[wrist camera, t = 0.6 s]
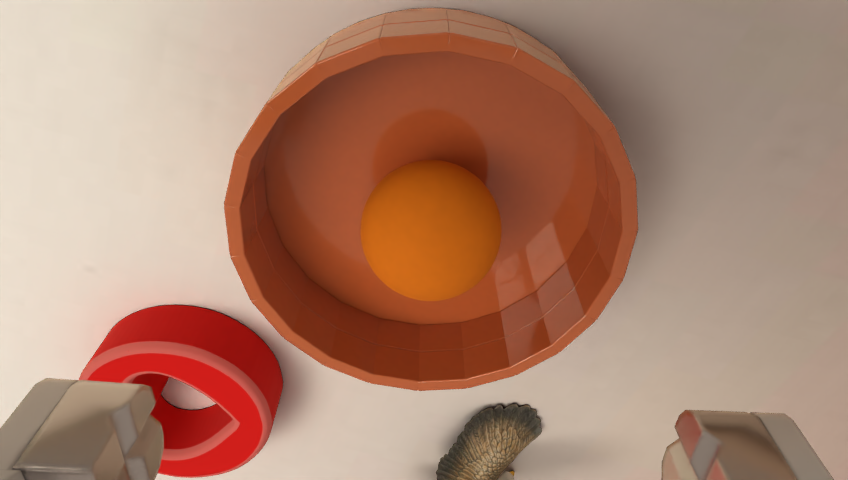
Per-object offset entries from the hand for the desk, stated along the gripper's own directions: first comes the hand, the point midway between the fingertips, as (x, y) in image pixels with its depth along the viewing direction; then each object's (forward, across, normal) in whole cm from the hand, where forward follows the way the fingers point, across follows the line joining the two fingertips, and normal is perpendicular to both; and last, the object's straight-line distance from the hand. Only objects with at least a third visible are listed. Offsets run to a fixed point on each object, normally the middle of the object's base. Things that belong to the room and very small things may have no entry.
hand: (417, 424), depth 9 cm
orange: (+17, 0, +5) cm, 18 cm away
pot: (+18, 0, +5) cm, 18 cm away
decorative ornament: (+18, +12, +17) cm, 27 cm away
